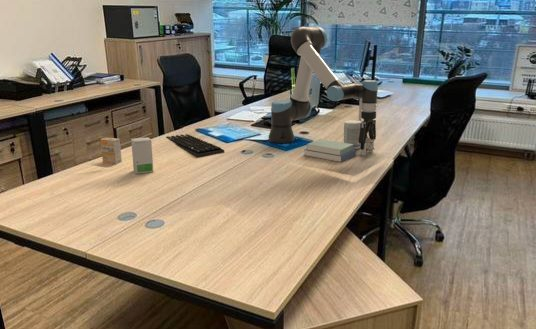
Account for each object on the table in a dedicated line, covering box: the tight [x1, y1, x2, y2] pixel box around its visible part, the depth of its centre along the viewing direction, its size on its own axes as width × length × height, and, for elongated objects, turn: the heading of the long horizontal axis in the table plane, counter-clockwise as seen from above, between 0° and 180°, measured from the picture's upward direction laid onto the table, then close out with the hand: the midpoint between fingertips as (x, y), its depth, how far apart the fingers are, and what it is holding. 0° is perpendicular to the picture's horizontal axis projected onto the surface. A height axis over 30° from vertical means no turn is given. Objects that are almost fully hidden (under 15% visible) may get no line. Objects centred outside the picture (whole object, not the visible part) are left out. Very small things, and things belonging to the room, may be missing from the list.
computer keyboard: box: [165, 133, 225, 159], centre depth 251 cm, size 45×16×4 cm, turn 35°
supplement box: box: [99, 137, 123, 166], centre depth 219 cm, size 8×5×13 cm, turn 70°
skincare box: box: [130, 137, 154, 175], centre depth 208 cm, size 8×7×16 cm
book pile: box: [303, 138, 357, 163], centre depth 232 cm, size 22×15×6 cm
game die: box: [358, 135, 376, 154], centre depth 234 cm, size 9×8×10 cm
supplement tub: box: [343, 119, 362, 150], centre depth 246 cm, size 10×10×15 cm
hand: (366, 153), depth 236 cm, fingers closed on game die, 9 cm apart
